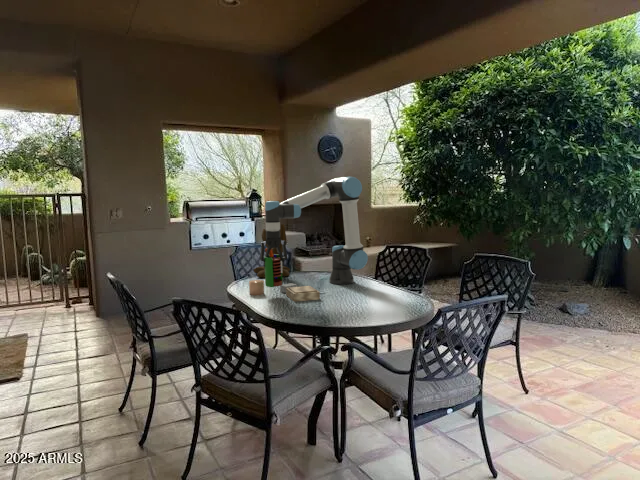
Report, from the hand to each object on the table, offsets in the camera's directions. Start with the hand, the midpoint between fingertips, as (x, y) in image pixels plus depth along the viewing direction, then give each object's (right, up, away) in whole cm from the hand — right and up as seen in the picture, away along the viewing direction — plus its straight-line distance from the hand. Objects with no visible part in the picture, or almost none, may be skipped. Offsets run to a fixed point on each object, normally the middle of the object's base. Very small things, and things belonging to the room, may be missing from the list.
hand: (274, 273), depth 232 cm
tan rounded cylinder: (-10, -12, +8) cm, 18 cm away
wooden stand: (-8, -6, +63) cm, 64 cm away
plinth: (+15, -13, 0) cm, 20 cm away
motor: (0, -7, +1) cm, 7 cm away
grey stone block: (+7, -12, +14) cm, 19 cm away
